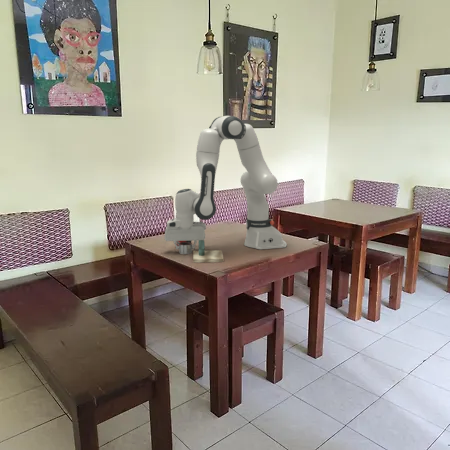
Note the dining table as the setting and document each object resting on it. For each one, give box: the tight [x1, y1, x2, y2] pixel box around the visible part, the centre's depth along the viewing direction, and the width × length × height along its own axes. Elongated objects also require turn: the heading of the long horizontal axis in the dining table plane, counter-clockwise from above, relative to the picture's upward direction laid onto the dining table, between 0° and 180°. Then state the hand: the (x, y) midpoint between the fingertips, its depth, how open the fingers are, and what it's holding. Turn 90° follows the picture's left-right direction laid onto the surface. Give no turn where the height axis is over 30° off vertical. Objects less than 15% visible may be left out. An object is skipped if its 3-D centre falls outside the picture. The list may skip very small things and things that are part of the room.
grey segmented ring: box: [178, 241, 193, 255], centre depth 208 cm, size 6×6×4 cm
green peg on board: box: [192, 240, 225, 264], centre depth 199 cm, size 14×14×8 cm
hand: (185, 248), depth 209 cm, fingers closed on grey segmented ring, 6 cm apart
